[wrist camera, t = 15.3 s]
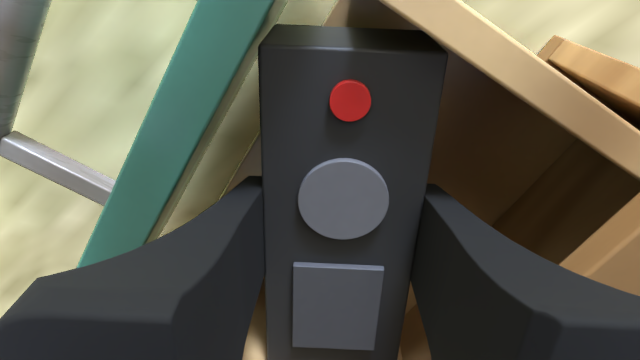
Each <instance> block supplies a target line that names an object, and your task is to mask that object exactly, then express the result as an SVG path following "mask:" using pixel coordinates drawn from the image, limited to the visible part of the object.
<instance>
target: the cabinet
mask: <svg viewBox="0 0 640 360" xmlns="http://www.w3.org/2000/svg"><path fill="white" fill-rule="evenodd" d="M537 56H538V57H539V58H541V59H542V60H543V61H545V62H546V63H547V64H549V65H550V66H551V67H553V68H554V69H556V70H557V71H558V72H560V73H561V74H562V75H564V76H565V77H567V78H568V79H569V80H571V81H572V82H573V83H575V84H576V85H578V86H579V87H580V88H582V89H583V90H584V91H586V92H587V93H588V94H590V95H591V96H593V97H594V98H595V99H597V100H598V101H599V102H601V103H602V104H604V105H605V106H606V107H608V108H609V109H610V110H612V111H613V112H614V113H616V114H617V115H619V116H620V117H621V118H623V119H624V120H625V121H627V122H628V123H630V124H631V125H632V126H634V127H635V128H636V129H638V130H639V131H640V68H638V67H636V66H633V65H631V64H628V63H625V62H623V61H620V60H618V59H615V58H613V57H610V56H607V55H605V54H602V53H600V52H597V51H595V50H592V49H589V48H587V47H584V46H582V45H579V44H577V43H574V42H571V41H569V40H566V39H564V38H561V37H559V36H556V35H554V36H553V37H552V38H551V40H550V41H549V42H548V43H547V44H546V46H545V47H544V48H543V49H542V50H541V51H540V53H539V54H538V55H537ZM559 266H561V267H564V268H566V269H568V270H570V271H572V272H575V273H577V274H579V275H582V276H584V277H587V278H589V279H592V280H594V281H597V282H600V283H602V284H605V285H608V286H610V287H613V288H616V289H619V290H622V291H624V292H628V293H631V294H634V295H638V296H640V192H639V193H638V194H637V195H636V196H635V197H633V198H632V199H631V200H630V201H629V202H628V203H627V204H626V205H624V206H623V207H622V208H621V209H620V210H619V211H618V212H617V213H616V214H614V215H613V216H612V217H611V218H610V219H609V220H608V221H607V222H605V223H604V224H603V225H602V226H601V227H600V228H599V229H598V230H597V231H595V232H594V233H593V234H592V235H591V236H590V237H589V238H588V239H586V240H585V241H584V242H583V243H582V244H581V245H580V246H579V247H578V248H576V249H575V250H574V251H573V252H572V253H571V254H570V255H569V256H568V257H566V258H565V259H564V260H563V261H562V262H561V263H560V264H559Z"/></svg>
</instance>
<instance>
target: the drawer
mask: <svg viewBox="0 0 640 360" xmlns="http://www.w3.org/2000/svg"><path fill="white" fill-rule="evenodd" d="M287 2H288V0H197V3H196V5H195V8H194V10H193V12H192V14H191V17H190V19H189V21H188V23H187V25H186V28H185V30H184V32H183V34H182V36H181V39H180V41H179V43H178V45H177V47H176V50H175V52H174V54H173V56H172V58H171V61H170V63H169V65H168V67H167V69H166V72H165V74H164V76H163V78H162V80H161V83H160V85H159V87H158V89H157V91H156V94H155V96H154V98H153V100H152V102H151V105H150V107H149V109H148V111H147V113H146V116H145V118H144V120H143V122H142V124H141V127H140V129H139V131H138V133H137V135H136V138H135V140H134V142H133V144H132V147H131V149H130V151H129V153H128V155H127V158H126V160H125V162H124V164H123V166H122V169H121V171H120V173H119V175H118V177H117V180H116V181H115V180H113V179H111V178H109V177H107V176H105V175H103V174H101V173H99V172H97V171H95V170H93V169H91V168H89V167H87V166H85V165H83V164H81V163H79V162H77V161H75V160H73V159H71V158H69V157H67V156H65V155H63V154H61V153H59V152H57V151H55V150H53V149H51V148H49V147H47V146H45V145H43V144H41V143H39V142H37V141H35V140H33V139H31V138H29V137H27V136H25V135H23V134H21V133H19V132H17V131H13V132H11V131H12V128H13V124H14V121H15V118H16V114H17V111H18V108H19V105H20V101H21V98H22V95H23V92H24V88H25V85H26V82H27V78H28V75H29V72H30V69H31V65H32V62H33V59H34V56H35V52H36V49H37V46H38V43H39V39H40V36H41V33H42V29H43V26H44V23H45V20H46V16H47V13H48V10H49V7H50V3H51V0H0V156H2V157H4V158H6V159H8V160H10V161H12V162H14V163H16V164H18V165H20V166H22V167H24V168H27V169H29V170H31V171H33V172H35V173H37V174H39V175H41V176H43V177H45V178H47V179H49V180H51V181H53V182H55V183H57V184H60V185H62V186H64V187H66V188H68V189H70V190H72V191H74V192H76V193H78V194H80V195H82V196H84V197H86V198H88V199H90V200H93V201H95V202H97V203H99V204H101V205H103V206H104V208H103V210H102V213H101V215H100V217H99V219H98V221H97V224H96V226H95V228H94V230H93V232H92V235H91V237H90V239H89V241H88V243H87V246H86V248H85V250H84V252H83V254H82V257H81V259H80V261H79V263H78V266H77V268H80V267H84V266H87V265H91V264H94V263H97V262H100V261H103V260H106V259H109V258H112V257H115V256H118V255H121V254H123V253H126V252H129V251H131V250H134V249H136V248H138V247H140V246H143V245H145V244H147V243H149V242H152V241H154V240H156V239H157V238H158V237H159V235H160V233H161V232H162V230H163V229H164V227H165V225H166V224H167V222H168V220H169V218H170V216H171V215H172V213H173V211H174V209H175V207H176V205H177V204H178V202H179V200H180V198H181V196H182V194H183V193H184V191H185V189H186V187H187V185H188V183H189V182H190V180H191V178H192V176H193V174H194V172H195V171H196V169H197V167H198V165H199V163H200V161H201V160H202V158H203V156H204V154H205V152H206V150H207V149H208V147H209V145H210V143H211V141H212V139H213V138H214V136H215V134H216V132H217V130H218V128H219V127H220V125H221V123H222V121H223V119H224V117H225V116H226V114H227V112H228V110H229V108H230V106H231V105H232V103H233V101H234V99H235V97H236V95H237V94H238V92H239V90H240V88H241V86H242V84H243V83H244V81H245V79H246V77H247V75H248V73H249V72H250V70H251V68H252V66H253V64H254V62H255V61H256V59H257V57H258V46H259V44H260V43H261V41H262V40H263V39H264V38H265V36H266V35H267V34H268V32H269V31H270V30H271V29H272V27H273V26H274V25H275V24H276V22H277V20H278V18H279V16H280V15H281V13H282V11H283V9H284V7H285V5H286V4H287ZM322 26H331V27H355V28H379V29H404V30H422V31H423V32H425V33H426V34H427V35H429V36H430V37H431V38H433V39H434V40H435V41H436V42H437V43H438V44H439V45H440V46H441V47H442V48H443V49H445V50H446V51H447V52H448V61H447V67H446V73H445V79H444V85H443V91H442V97H441V103H440V109H439V115H438V121H437V127H436V133H435V138H434V144H433V150H432V156H431V162H430V168H429V174H428V180H427V183H428V184H436V185H438V186H439V187H440V188H442V189H443V190H444V191H446V192H447V193H448V194H449V195H451V196H452V197H453V198H454V199H456V200H457V201H458V202H459V203H460V204H462V205H463V206H464V207H465V208H467V209H468V210H469V211H471V212H472V213H473V214H474V215H476V216H477V217H478V218H480V219H481V220H482V221H484V222H485V223H487V224H488V225H489V226H491V227H492V228H494V229H495V230H497V231H498V232H500V233H501V234H503V235H504V236H506V237H507V238H509V239H510V240H512V241H514V242H515V243H517V244H519V245H521V246H522V247H524V248H526V249H528V250H529V251H531V252H533V253H535V254H537V255H539V256H540V257H542V258H544V259H546V260H548V261H551V262H553V263H555V264H557V265H559V264H560V263H561V262H562V261H563V260H564V259H565V258H566V257H568V256H569V255H570V254H571V253H572V252H573V251H574V250H575V249H576V248H578V247H579V246H580V245H581V244H582V243H583V242H584V241H585V240H586V239H588V238H589V237H590V236H591V235H592V234H593V233H594V232H595V231H597V230H598V229H599V228H600V227H601V226H602V225H603V224H604V223H605V222H607V221H608V220H609V219H610V218H611V217H612V216H613V215H614V214H616V213H617V212H618V211H619V210H620V209H621V208H622V207H623V206H624V205H626V204H627V203H628V202H629V201H630V200H631V199H632V198H633V197H635V196H636V195H637V194H638V193H639V192H640V131H639V130H638V129H636V128H635V127H634V126H632V125H631V124H630V123H628V122H627V121H625V120H624V119H623V118H621V117H620V116H619V115H617V114H616V113H614V112H613V111H612V110H610V109H609V108H608V107H606V106H605V105H604V104H602V103H601V102H599V101H598V100H597V99H595V98H594V97H593V96H591V95H590V94H588V93H587V92H586V91H584V90H583V89H582V88H580V87H579V86H578V85H576V84H575V83H573V82H572V81H571V80H569V79H568V78H567V77H565V76H564V75H562V74H561V73H560V72H558V71H557V70H556V69H554V68H553V67H551V66H550V65H549V64H547V63H546V62H545V61H543V60H542V59H541V58H539V57H538V56H536V55H535V54H534V53H532V52H531V51H530V50H528V49H527V48H525V47H524V46H523V45H521V44H520V43H519V42H517V41H516V40H515V39H513V38H512V37H510V36H509V35H508V34H506V33H505V32H504V31H502V30H501V29H499V28H498V27H497V26H495V25H494V24H493V23H491V22H490V21H489V20H487V19H486V18H484V17H483V16H482V15H480V14H479V13H478V12H476V11H475V10H473V9H472V8H471V7H469V6H468V5H467V4H465V3H464V2H463V1H461V0H337V1H336V2H335V4H334V6H333V7H332V9H331V11H330V12H329V14H328V16H327V17H326V19H325V21H324V22H323V24H322ZM248 176H262V170H261V136H260V130H259V132H258V134H257V135H256V137H255V139H254V140H253V142H252V144H251V145H250V147H249V149H248V150H247V152H246V154H245V155H244V157H243V159H242V160H241V162H240V164H239V166H238V167H237V169H236V171H235V172H234V174H233V176H232V177H231V179H230V181H229V182H228V184H227V186H226V187H225V189H224V191H223V192H222V194H221V196H220V197H219V199H218V201H219V200H220V199H221V198H222V197H224V196H225V195H226V194H227V193H229V192H230V191H231V190H232V189H233V188H235V187H236V186H237V185H238V184H239V183H241V182H242V181H243V180H244V179H245V178H246V177H248ZM218 201H217V202H218ZM242 360H267V339H266V305H265V275H264V278H263V282H262V285H261V289H260V292H259V295H258V299H257V302H256V306H255V309H254V312H253V316H252V319H251V323H250V326H249V329H248V334H247V338H246V342H245V347H244V352H243V358H242ZM397 360H431V354H430V350H429V345H428V341H427V337H426V333H425V330H424V326H423V323H422V319H421V316H420V312H419V309H418V305H417V302H416V298H415V295H414V291H413V288H412V284H411V281H410V287H409V293H408V299H407V305H406V311H405V317H404V323H403V329H402V335H401V341H400V347H399V353H398V359H397Z"/></svg>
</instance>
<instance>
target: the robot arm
mask: <svg viewBox="0 0 640 360" xmlns="http://www.w3.org/2000/svg"><path fill="white" fill-rule="evenodd" d="M264 275H265V264H264V230H263V196H262V176H248V177H246V178H245V179H244V180H243V181H242V182H241V183H239V184H238V185H237V186H236V187H235V188H233V189H232V190H231V191H230V192H229V193H227V194H226V195H225V196H224V197H222V198H221V199H220V200H219V201H218V202H216V203H215V204H214V205H212V206H211V207H209V208H208V209H207V210H205V211H204V212H202V213H201V214H199V215H198V216H197V217H195V218H194V219H192V220H191V221H189V222H188V223H186V224H184V225H183V226H181V227H179V228H177V229H175V230H174V231H172V232H170V233H168V234H166V235H164V236H162V237H160V238H158V239H156V240H154V241H152V242H149V243H147V244H145V245H143V246H140V247H138V248H136V249H134V250H131V251H129V252H126V253H123V254H121V255H118V256H115V257H112V258H109V259H106V260H103V261H100V262H97V263H94V264H91V265H87V266H84V267H80V268H76V269H72V270H68V271H64V272H60V273H57V274H53V275H49V276H44V277H40V278H37V279H36V280H35V281H34V282H33V283H32V284H31V285H30V286H29V288H28V289H27V290H26V291H25V292H24V293H23V294H22V295H21V296H20V298H19V299H18V300H17V301H16V302H15V303H14V304H13V305H12V306H11V307H10V309H9V310H8V311H7V312H6V313H5V314H4V315H3V316H2V317H1V319H0V360H242V358H243V352H244V347H245V342H246V338H247V334H248V329H249V326H250V323H251V319H252V316H253V312H254V309H255V306H256V302H257V299H258V295H259V292H260V289H261V285H262V282H263V278H264ZM411 284H412V288H413V291H414V295H415V298H416V302H417V305H418V309H419V312H420V316H421V319H422V323H423V326H424V330H425V333H426V337H427V341H428V345H429V350H430V354H431V360H640V296H638V295H634V294H631V293H628V292H624V291H622V290H619V289H616V288H613V287H610V286H608V285H605V284H602V283H600V282H597V281H594V280H592V279H589V278H587V277H584V276H582V275H579V274H577V273H575V272H572V271H570V270H568V269H566V268H564V267H561V266H559V265H557V264H555V263H553V262H551V261H548V260H546V259H544V258H542V257H540V256H539V255H537V254H535V253H533V252H531V251H529V250H528V249H526V248H524V247H522V246H521V245H519V244H517V243H515V242H514V241H512V240H510V239H509V238H507V237H506V236H504V235H503V234H501V233H500V232H498V231H497V230H495V229H494V228H492V227H491V226H489V225H488V224H487V223H485V222H484V221H482V220H481V219H480V218H478V217H477V216H476V215H474V214H473V213H472V212H471V211H469V210H468V209H467V208H465V207H464V206H463V205H462V204H460V203H459V202H458V201H457V200H456V199H454V198H453V197H452V196H451V195H449V194H448V193H447V192H446V191H444V190H443V189H442V188H440V187H439V186H438V185H436V184H428V183H427V186H426V192H425V197H424V203H423V209H422V215H421V221H420V227H419V233H418V239H417V245H416V251H415V257H414V263H413V269H412V275H411Z"/></svg>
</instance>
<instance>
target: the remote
mask: <svg viewBox="0 0 640 360" xmlns="http://www.w3.org/2000/svg"><path fill="white" fill-rule="evenodd" d="M447 61H448V52H447V51H446V50H445V49H443V48H442V47H441V46H440V45H439V44H438V43H437V42H436V41H435V40H434V39H433V38H431V37H430V36H429V35H427V34H426V33H425V32H423V31H422V30H404V29H379V28H355V27H331V26H307V25H282V24H276V25H274V26H273V27H272V29H271V30H270V31H269V32H268V34H267V35H266V36H265V38H264V39H263V40H262V41H261V43H260V44H259V46H258V68H259V102H260V136H261V170H262V196H263V230H264V264H265V305H266V339H267V360H397V359H398V353H399V347H400V341H401V335H402V329H403V323H404V317H405V311H406V305H407V299H408V293H409V287H410V281H411V275H412V269H413V263H414V257H415V251H416V245H417V239H418V233H419V227H420V221H421V215H422V209H423V203H424V197H425V192H426V186H427V180H428V174H429V168H430V162H431V156H432V150H433V144H434V138H435V133H436V127H437V121H438V115H439V109H440V103H441V97H442V91H443V85H444V79H445V73H446V67H447Z"/></svg>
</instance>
